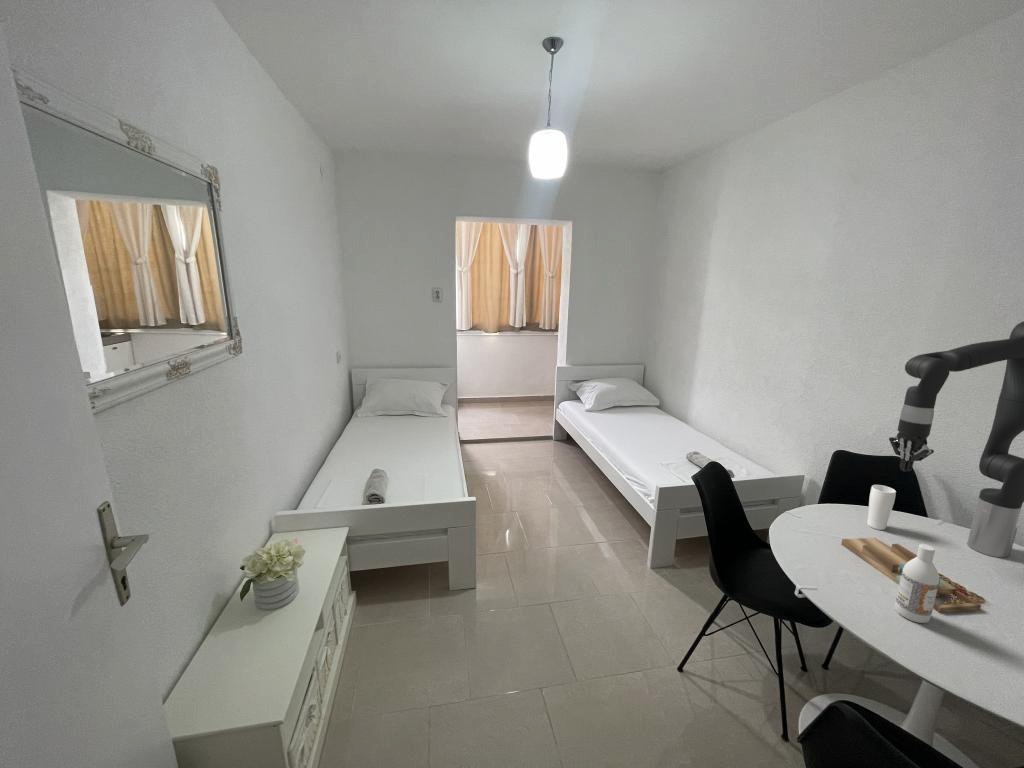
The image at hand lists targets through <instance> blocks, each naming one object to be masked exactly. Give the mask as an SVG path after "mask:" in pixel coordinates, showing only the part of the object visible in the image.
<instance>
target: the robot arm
mask: <svg viewBox="0 0 1024 768" xmlns="http://www.w3.org/2000/svg"><path fill="white" fill-rule="evenodd" d="M1002 361H1006V365H1005V372H1004V377H1003V382H1002V386H1001V390H1000V394H999V396H998V400H997V404H996V410H995V414H994V419H993V423H992V427H991V429H990V430H991V431H990V433H989V436H988V438H987V441H986V444H985V446H984V449H983V450H982V454H981V456H980V460H979V464H978V465H979V466H978V469H979V472H980V473H981V475H983V476H985V477H986V478H989V479H992V480H994V481H997V482H999V483H1000V482H1001V483H1002V486H1001V488H993V487H990V488H989V487H988V488H987V487H986V488H982V489H981V490H980V492H979V495H978V498H977V499H978V500H977V502H976V503H977V504H976V507H975V510H974V514H973V518H972V523H971V526H970V530H969V535H968V537H967V538H968V539H967V543H966V545H967V546H968V547H969V548H971V549H973V550H974V551H977V552H979V553H980V554H984V555H987V556H990V557H991V556H992V557H995V558H1007V557H1009V555H1011V553H1012V549H1013V546H1014V541H1015V538H1016V534H1017V531H1018V527H1017V524H1018V521H1019V518H1020V513H1021V509H1022V507H1023V504H1024V457H1020V456H1017V455H1014V454H1010V453H1009V450H1010V446H1011V445H1012V443H1013V441H1014V439H1015V438H1016V437H1018V436H1019V435H1020V434H1021V433H1023V432H1024V320H1023V321H1021V322H1019V323H1017V324H1016V325H1015V326H1014V327H1013V328H1012V330H1011V332H1010V335H1009V338H1005V339H1001V340H1000V339H999V340H998V339H997V340H991V341H984V342H983V341H982V342H976V343H970V344H967V345H963V346H960V347H955V348H953V349H952V348H951V349H949V350H944V351H943V350H942V351H936V352H928V353H922V354H919V355H915V356H912V357H911V358H910V359H908V360H907V361H906V362H905V364H904V370H905V373H906V374H907V375H909V376H910V377H913V378H915V379H919V380H920V381H919V383H918V384H917V385H912V386H909V387H908V388H907V389H906V392H905V396H904V400H903V401H904V402H903V406H902V408H901V411H900V416H899V421H898V426H897V431H898V432H897V434H896V436H893V437H889V438H888V440H889V443H890V445H891V448H892V450H893V451H894V454H895V455H896V456H899V458H900V461H899V468H900V469H899V470H900V471H903V472H911V471H912V470H913V467H914V462H922V461H923V460H925V459H926V458H928V457H929V456H931V455H933V454H934V453H935V451H934V449H932V448H930V447H929V446H928V440H927V439H928V437H929V436H930V435H931V429H932V424H933V421H934V415H935V406H936V402H937V397H938V394H939V393H940V392H941V390H942V389H943V386H944V385H945V383H946V381H947V380H948V378H949V375H950V372H954V373H955V372H964V371H967V370H971V369H975V368H979V367H982V366H986V365H990V364H994V363H997V362H998V363H999V362H1002Z"/></svg>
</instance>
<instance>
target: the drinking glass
mask: <svg viewBox="0 0 1024 768" xmlns="http://www.w3.org/2000/svg"><path fill="white" fill-rule="evenodd" d="M896 493H897V491H896V490H895V489H894V488H892V487H889V486H887V485H882V484H873V485H871V487H870V493H869V498H868V499H869V500H868V512H867V521H866V524H867V525H868V527H870V528H872V529H874V530H879V531H883V530H886V528H887V525H888V521H889V519H890V517H891V516H890V515H891V512H892V510H893V507H894V504H895V500H896V495H897V494H896Z"/></svg>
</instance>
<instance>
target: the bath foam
mask: <svg viewBox="0 0 1024 768" xmlns="http://www.w3.org/2000/svg"><path fill="white" fill-rule="evenodd" d="M935 549H936V548H934V547H933V546H931V545H928V544H925V543H921V544H919V546H918V549H917V550H918V551H917V554H916V555H917V557H916V558H914V559H912V560H910V561H909V562H907V563H906V564H905V566H904V568H903V570H902V575H901V579H900V584H898V590H897V593H896V599H895V602H894V610H895V611H896V612H897V613H898V614H899V615H900V616H902V617H904V618H905V619H906V620H909V621H911V622H914V623H918V624H927V623H929V622H930V619H931V616H932V615H933V610H934V609H933V606H934V602H935V597H936V593H937V589H938V585H939V572H938V570H937V567H936V566H935V564H934V563H933V561H934V555H935V552H936V550H935Z"/></svg>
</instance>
